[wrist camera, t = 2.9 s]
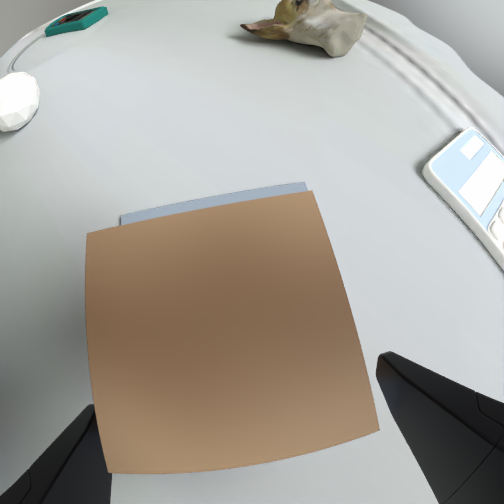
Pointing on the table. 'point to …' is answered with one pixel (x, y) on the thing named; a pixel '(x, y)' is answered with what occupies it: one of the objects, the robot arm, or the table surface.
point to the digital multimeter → (76, 21)
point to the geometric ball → (17, 100)
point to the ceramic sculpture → (312, 25)
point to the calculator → (472, 186)
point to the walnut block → (222, 339)
